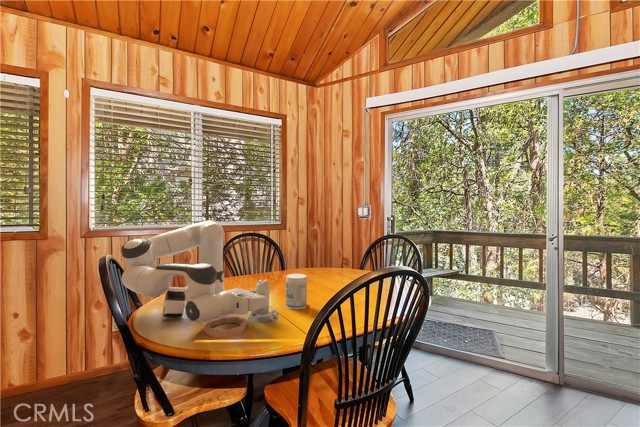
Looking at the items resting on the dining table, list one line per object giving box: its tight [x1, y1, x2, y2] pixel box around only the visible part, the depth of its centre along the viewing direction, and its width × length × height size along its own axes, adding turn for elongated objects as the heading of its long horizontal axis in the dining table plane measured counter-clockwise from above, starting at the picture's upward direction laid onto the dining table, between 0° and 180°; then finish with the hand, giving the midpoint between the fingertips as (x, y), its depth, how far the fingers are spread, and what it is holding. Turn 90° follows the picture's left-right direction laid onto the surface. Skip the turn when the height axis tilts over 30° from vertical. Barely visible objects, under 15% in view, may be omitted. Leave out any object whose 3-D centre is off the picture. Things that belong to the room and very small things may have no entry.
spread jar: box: [161, 286, 188, 319], centre depth 133 cm, size 12×11×12 cm
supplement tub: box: [285, 273, 308, 310], centre depth 146 cm, size 10×10×15 cm
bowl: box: [203, 316, 248, 338], centre depth 119 cm, size 14×14×3 cm
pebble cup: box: [255, 279, 271, 315], centre depth 131 cm, size 6×6×14 cm
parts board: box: [246, 308, 280, 324], centre depth 131 cm, size 12×12×3 cm
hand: (261, 293), depth 130 cm, fingers closed on pebble cup, 5 cm apart
